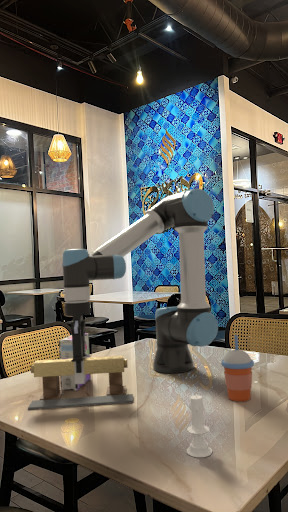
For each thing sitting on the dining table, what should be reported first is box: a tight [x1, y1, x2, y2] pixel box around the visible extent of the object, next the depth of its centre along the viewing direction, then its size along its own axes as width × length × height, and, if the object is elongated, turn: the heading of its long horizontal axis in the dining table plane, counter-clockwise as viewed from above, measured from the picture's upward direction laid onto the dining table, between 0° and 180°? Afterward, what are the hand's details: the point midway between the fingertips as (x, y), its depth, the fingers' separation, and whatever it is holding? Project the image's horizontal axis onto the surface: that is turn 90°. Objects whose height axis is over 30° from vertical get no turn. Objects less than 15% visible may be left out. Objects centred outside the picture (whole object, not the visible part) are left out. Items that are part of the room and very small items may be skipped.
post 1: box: [39, 376, 65, 400], centre depth 129 cm, size 6×8×10 cm
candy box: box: [58, 332, 92, 392], centre depth 140 cm, size 14×6×16 cm, turn 168°
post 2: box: [105, 372, 127, 396], centre depth 130 cm, size 6×8×10 cm
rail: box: [30, 355, 129, 378], centre depth 122 cm, size 28×4×4 cm, turn 93°
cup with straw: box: [221, 334, 255, 402], centre depth 119 cm, size 9×9×18 cm
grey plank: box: [27, 393, 134, 411], centre depth 122 cm, size 30×6×1 cm, turn 93°
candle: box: [186, 393, 213, 459], centre depth 87 cm, size 5×5×12 cm
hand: (80, 381), depth 122 cm, fingers closed on rail, 3 cm apart
